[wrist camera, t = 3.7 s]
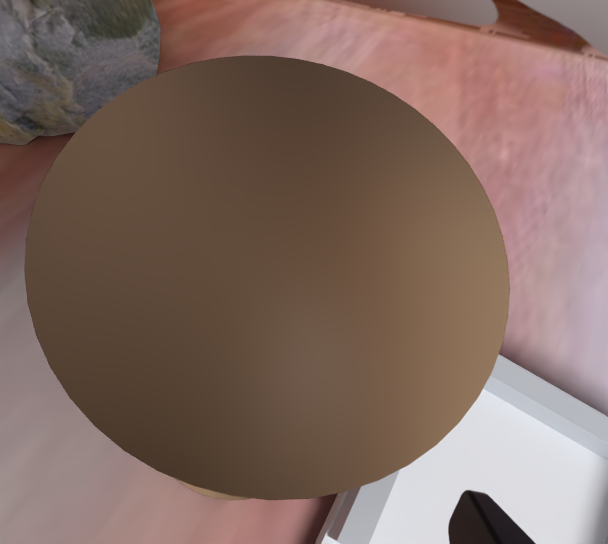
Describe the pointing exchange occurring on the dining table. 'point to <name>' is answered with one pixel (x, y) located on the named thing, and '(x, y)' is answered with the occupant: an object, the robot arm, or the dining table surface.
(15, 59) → the stone
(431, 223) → the bobbin
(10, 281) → the dining table surface
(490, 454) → the tray
